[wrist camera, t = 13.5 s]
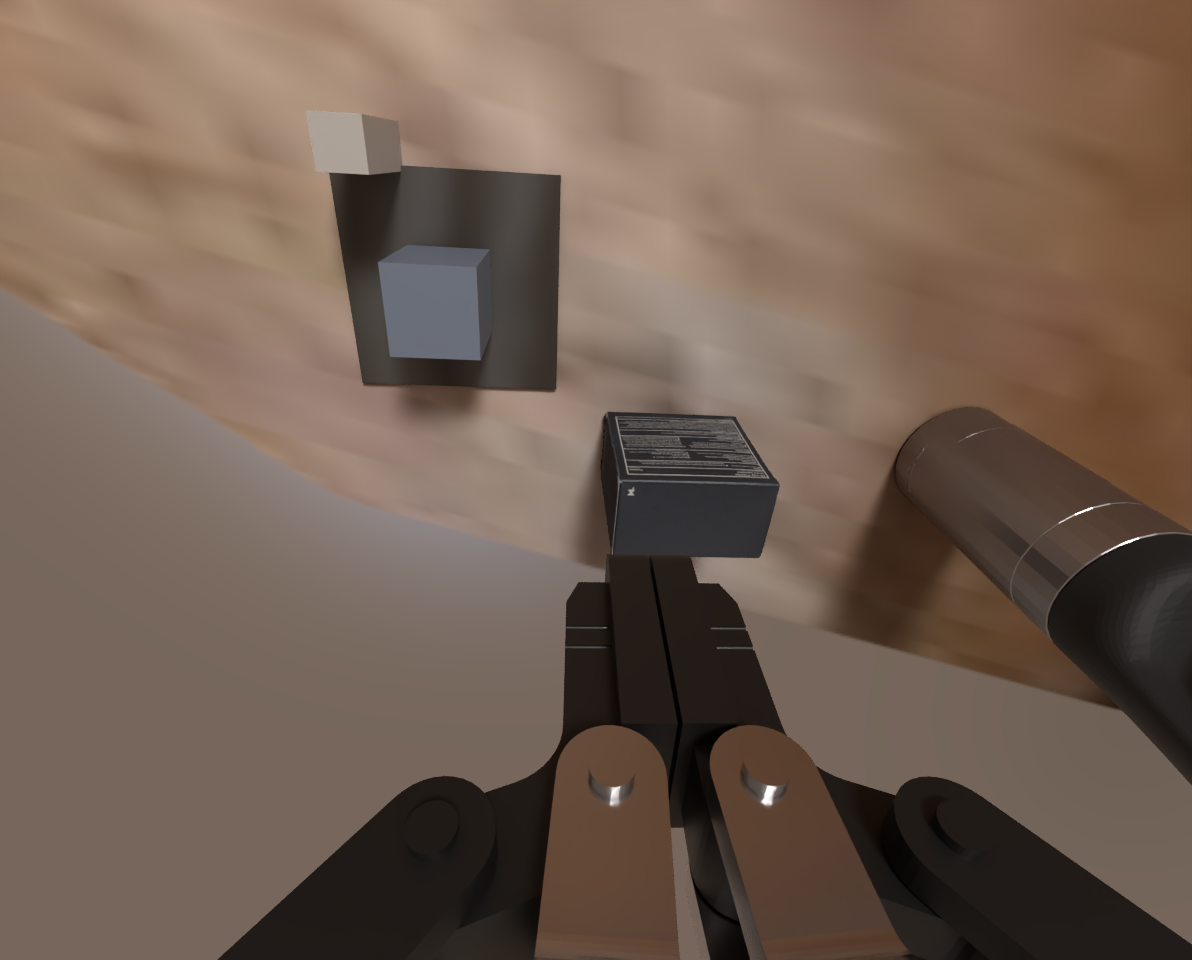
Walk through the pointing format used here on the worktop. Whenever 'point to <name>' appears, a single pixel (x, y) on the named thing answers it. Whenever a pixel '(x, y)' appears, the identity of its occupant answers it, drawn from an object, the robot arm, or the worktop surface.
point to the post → (354, 143)
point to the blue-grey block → (437, 302)
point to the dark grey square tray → (461, 220)
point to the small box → (684, 486)
